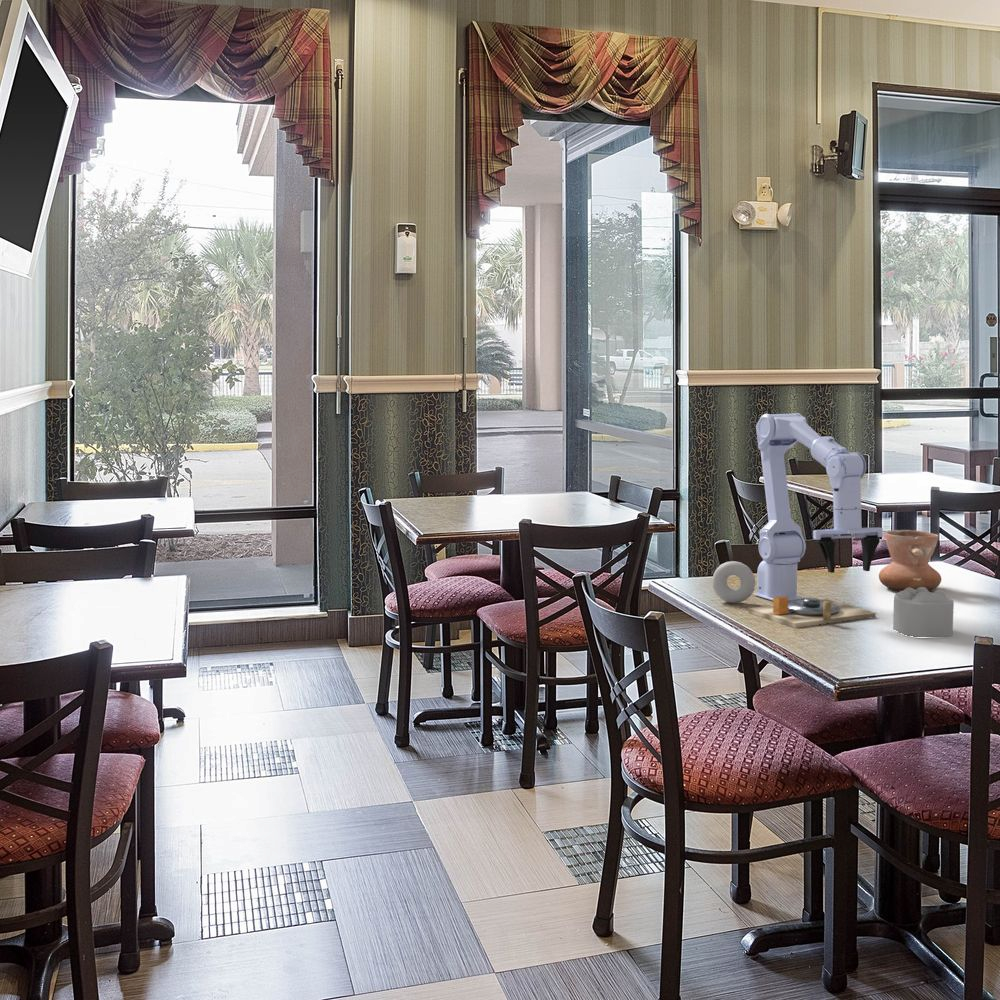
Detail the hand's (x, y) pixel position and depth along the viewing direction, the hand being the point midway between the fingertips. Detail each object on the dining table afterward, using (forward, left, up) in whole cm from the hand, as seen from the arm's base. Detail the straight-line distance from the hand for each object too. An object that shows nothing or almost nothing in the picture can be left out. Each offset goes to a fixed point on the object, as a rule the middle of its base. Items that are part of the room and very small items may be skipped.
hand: (848, 571), depth 232 cm
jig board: (-8, -3, -11) cm, 14 cm away
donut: (-26, -11, -11) cm, 30 cm away
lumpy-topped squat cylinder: (+13, +7, -11) cm, 19 cm away
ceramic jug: (-20, +37, -11) cm, 43 cm away
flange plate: (-8, -5, -10) cm, 13 cm away
